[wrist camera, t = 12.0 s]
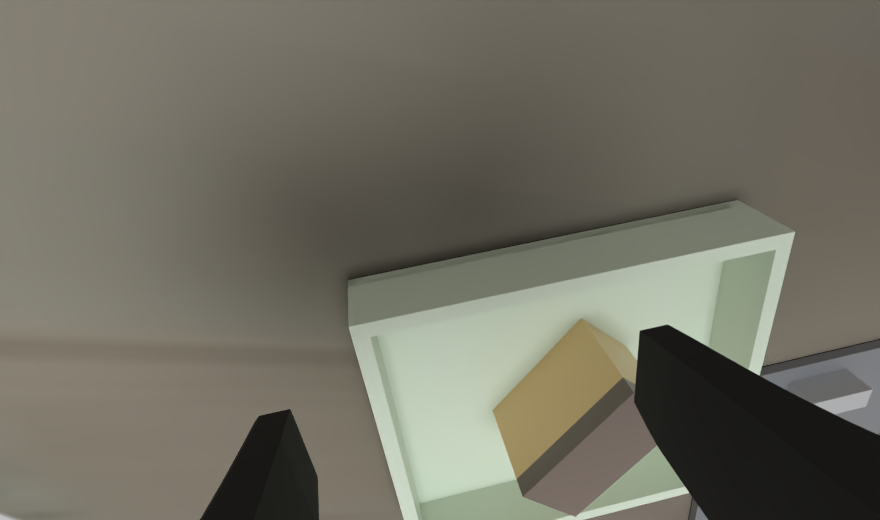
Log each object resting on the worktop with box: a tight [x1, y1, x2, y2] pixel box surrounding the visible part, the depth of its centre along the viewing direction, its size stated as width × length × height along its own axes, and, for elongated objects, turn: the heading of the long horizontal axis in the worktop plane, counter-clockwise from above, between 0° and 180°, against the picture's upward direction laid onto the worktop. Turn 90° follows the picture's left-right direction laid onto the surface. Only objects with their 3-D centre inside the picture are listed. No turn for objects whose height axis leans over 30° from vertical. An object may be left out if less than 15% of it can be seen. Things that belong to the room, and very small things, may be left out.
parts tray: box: [348, 200, 795, 520], centre depth 22 cm, size 16×14×3 cm
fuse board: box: [689, 340, 880, 520], centre depth 31 cm, size 11×22×2 cm, turn 8°
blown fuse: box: [493, 318, 657, 517], centre depth 21 cm, size 3×6×4 cm, turn 143°
